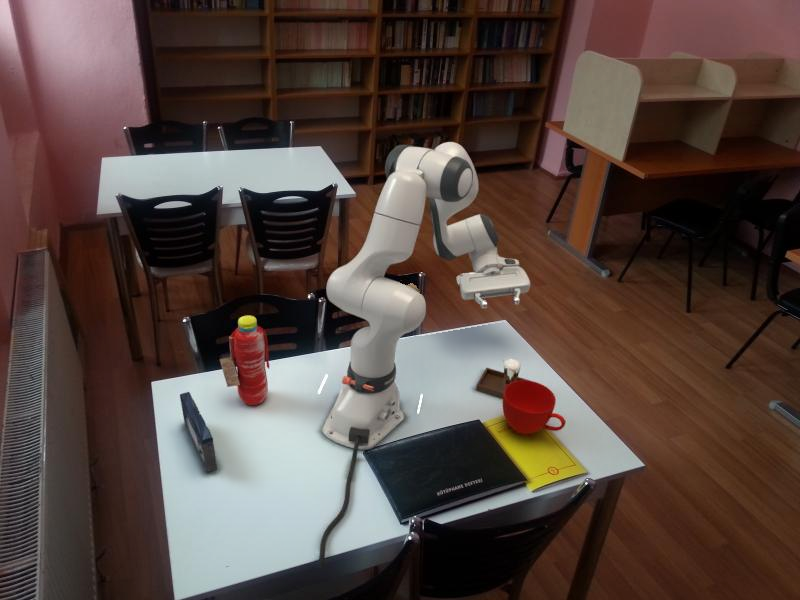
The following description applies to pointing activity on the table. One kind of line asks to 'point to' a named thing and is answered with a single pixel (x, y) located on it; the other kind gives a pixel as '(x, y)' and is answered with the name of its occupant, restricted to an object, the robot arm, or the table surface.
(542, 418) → the ceramic cup
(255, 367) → the water bottle
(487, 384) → the tray
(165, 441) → the table surface
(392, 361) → the robot arm
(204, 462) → the vhs cassette tape
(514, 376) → the milkshake
